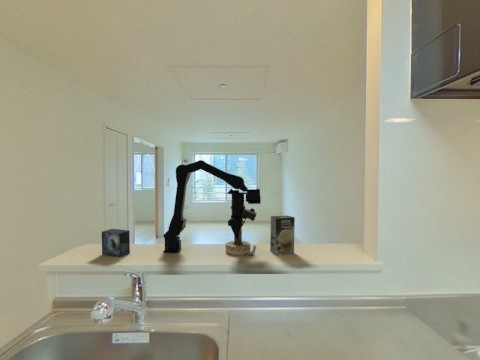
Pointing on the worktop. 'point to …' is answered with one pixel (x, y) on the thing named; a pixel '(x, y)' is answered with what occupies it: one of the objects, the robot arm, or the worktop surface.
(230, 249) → the bead
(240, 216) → the robot arm
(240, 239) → the brown cylinder
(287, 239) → the coffee box
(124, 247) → the small box
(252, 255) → the gray l-shaped bar
